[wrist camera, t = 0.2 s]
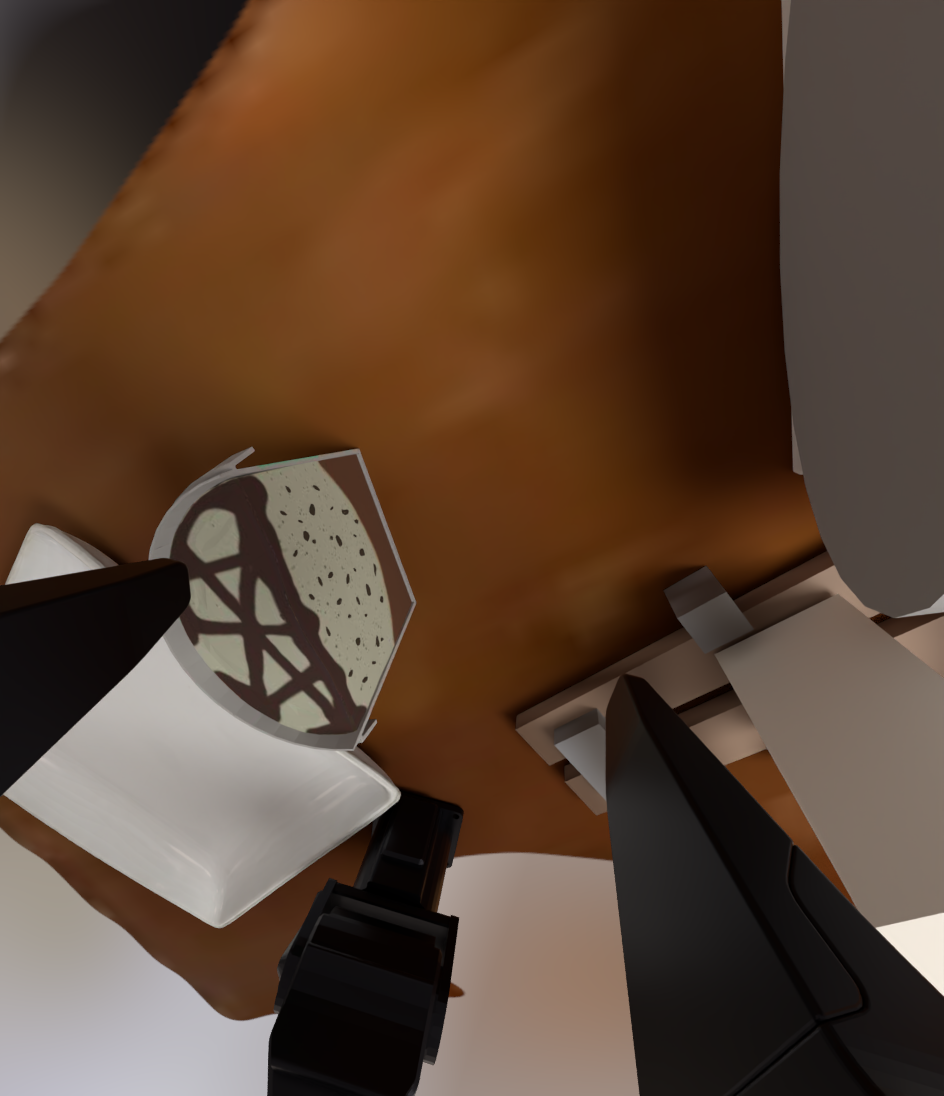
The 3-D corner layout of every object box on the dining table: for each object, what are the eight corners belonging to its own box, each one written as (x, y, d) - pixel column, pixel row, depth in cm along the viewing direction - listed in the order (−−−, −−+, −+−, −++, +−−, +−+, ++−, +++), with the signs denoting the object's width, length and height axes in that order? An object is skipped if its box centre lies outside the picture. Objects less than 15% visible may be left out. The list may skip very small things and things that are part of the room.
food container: (249, 450, 24) (65, 503, 15) (348, 419, 22) (211, 457, 13) (335, 639, 28) (232, 772, 19) (424, 624, 27) (358, 761, 17)
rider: (766, 719, 25) (966, 1048, 13) (708, 643, 23) (869, 929, 12) (883, 669, 22) (1255, 1012, 11) (826, 584, 21) (1173, 861, 9)
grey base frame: (616, 821, 30) (623, 867, 27) (491, 688, 28) (485, 724, 25) (1098, 639, 21) (1182, 681, 18) (978, 409, 18) (1054, 418, 15)
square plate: (244, 889, 42) (215, 938, 38) (-15, 715, 38) (-72, 751, 34) (419, 758, 32) (402, 808, 28) (88, 498, 27) (20, 518, 24)
